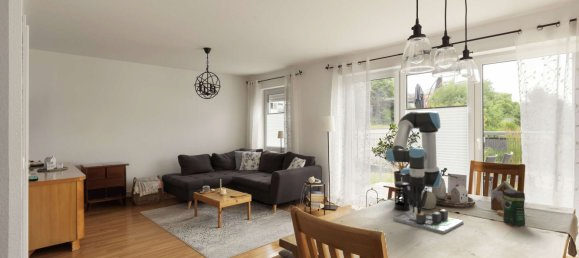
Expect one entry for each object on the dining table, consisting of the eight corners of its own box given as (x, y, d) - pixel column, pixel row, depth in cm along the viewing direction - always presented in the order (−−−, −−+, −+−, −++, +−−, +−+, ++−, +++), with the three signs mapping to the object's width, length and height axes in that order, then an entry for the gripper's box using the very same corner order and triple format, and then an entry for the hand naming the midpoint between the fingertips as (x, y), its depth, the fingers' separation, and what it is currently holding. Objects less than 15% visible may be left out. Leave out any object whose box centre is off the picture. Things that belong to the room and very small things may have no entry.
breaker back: (442, 216, 172) (442, 208, 172) (447, 217, 169) (447, 209, 169) (438, 218, 169) (438, 210, 169) (444, 219, 167) (444, 211, 167)
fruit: (422, 205, 202) (422, 183, 201) (439, 209, 192) (439, 186, 192) (413, 208, 196) (413, 185, 195) (430, 212, 186) (430, 188, 186)
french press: (391, 206, 199) (391, 172, 198) (405, 206, 199) (405, 172, 199) (398, 212, 187) (398, 175, 187) (413, 211, 188) (413, 175, 187)
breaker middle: (435, 219, 167) (435, 211, 167) (441, 220, 164) (441, 212, 164) (432, 221, 164) (432, 213, 164) (437, 222, 162) (437, 214, 161)
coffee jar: (528, 226, 159) (528, 191, 158) (513, 227, 158) (513, 192, 158) (514, 220, 168) (514, 187, 168) (500, 221, 168) (500, 188, 168)
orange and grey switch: (420, 220, 165) (420, 212, 165) (425, 221, 163) (425, 213, 163) (416, 222, 163) (416, 214, 162) (421, 223, 160) (421, 215, 160)
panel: (414, 212, 186) (414, 209, 186) (463, 223, 165) (463, 220, 165) (393, 220, 171) (393, 217, 171) (443, 234, 150) (443, 230, 150)
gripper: (402, 175, 167) (402, 217, 167) (425, 178, 157) (425, 223, 157) (409, 173, 171) (409, 214, 172) (431, 176, 161) (432, 220, 162)
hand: (416, 218), depth 164 cm, fingers closed
